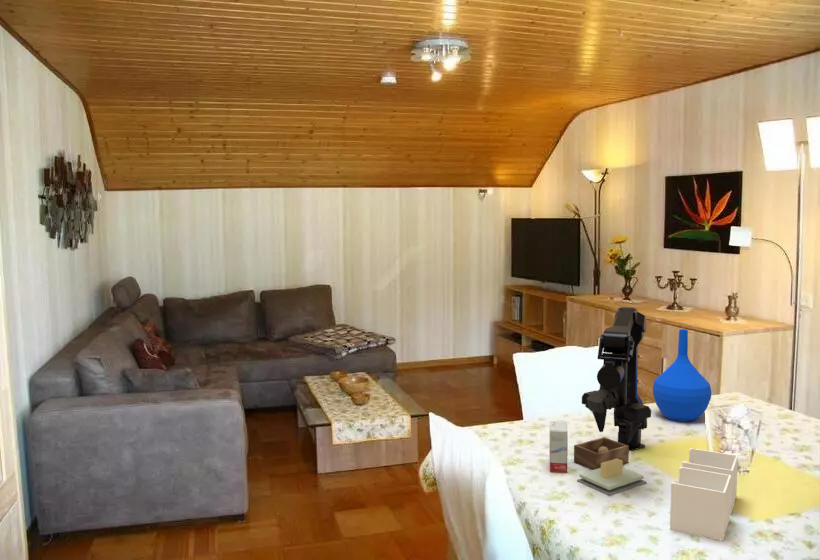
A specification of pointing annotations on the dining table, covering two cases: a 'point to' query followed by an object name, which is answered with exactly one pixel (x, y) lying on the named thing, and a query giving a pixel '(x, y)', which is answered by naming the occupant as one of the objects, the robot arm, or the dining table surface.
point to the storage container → (704, 494)
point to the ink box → (558, 447)
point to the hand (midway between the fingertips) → (614, 436)
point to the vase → (682, 387)
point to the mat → (612, 491)
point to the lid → (611, 475)
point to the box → (592, 459)
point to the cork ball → (602, 449)
